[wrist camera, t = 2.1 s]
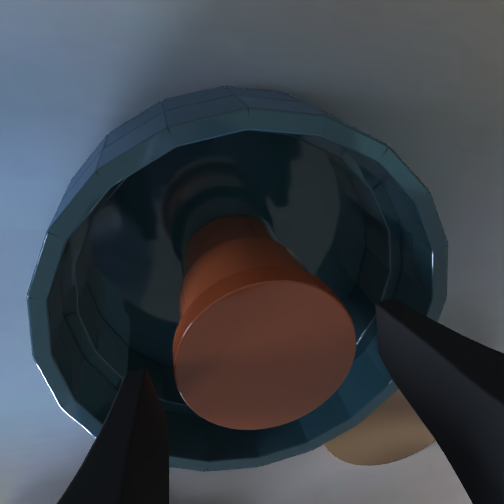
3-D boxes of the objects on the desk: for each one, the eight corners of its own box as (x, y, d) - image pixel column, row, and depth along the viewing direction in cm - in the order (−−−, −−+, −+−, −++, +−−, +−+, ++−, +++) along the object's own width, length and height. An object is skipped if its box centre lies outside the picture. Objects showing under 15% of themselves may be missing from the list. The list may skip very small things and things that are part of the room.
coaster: (460, 434, 29) (464, 439, 29) (325, 477, 28) (327, 482, 28) (467, 322, 25) (471, 326, 24) (307, 369, 24) (310, 374, 23)
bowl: (390, 339, 24) (444, 410, 20) (122, 417, 23) (116, 511, 18) (376, 49, 17) (454, 59, 13) (-8, 136, 16) (-66, 180, 12)
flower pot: (305, 298, 21) (363, 401, 16) (184, 332, 21) (199, 450, 15) (287, 184, 19) (349, 258, 13) (148, 219, 18) (149, 312, 12)
